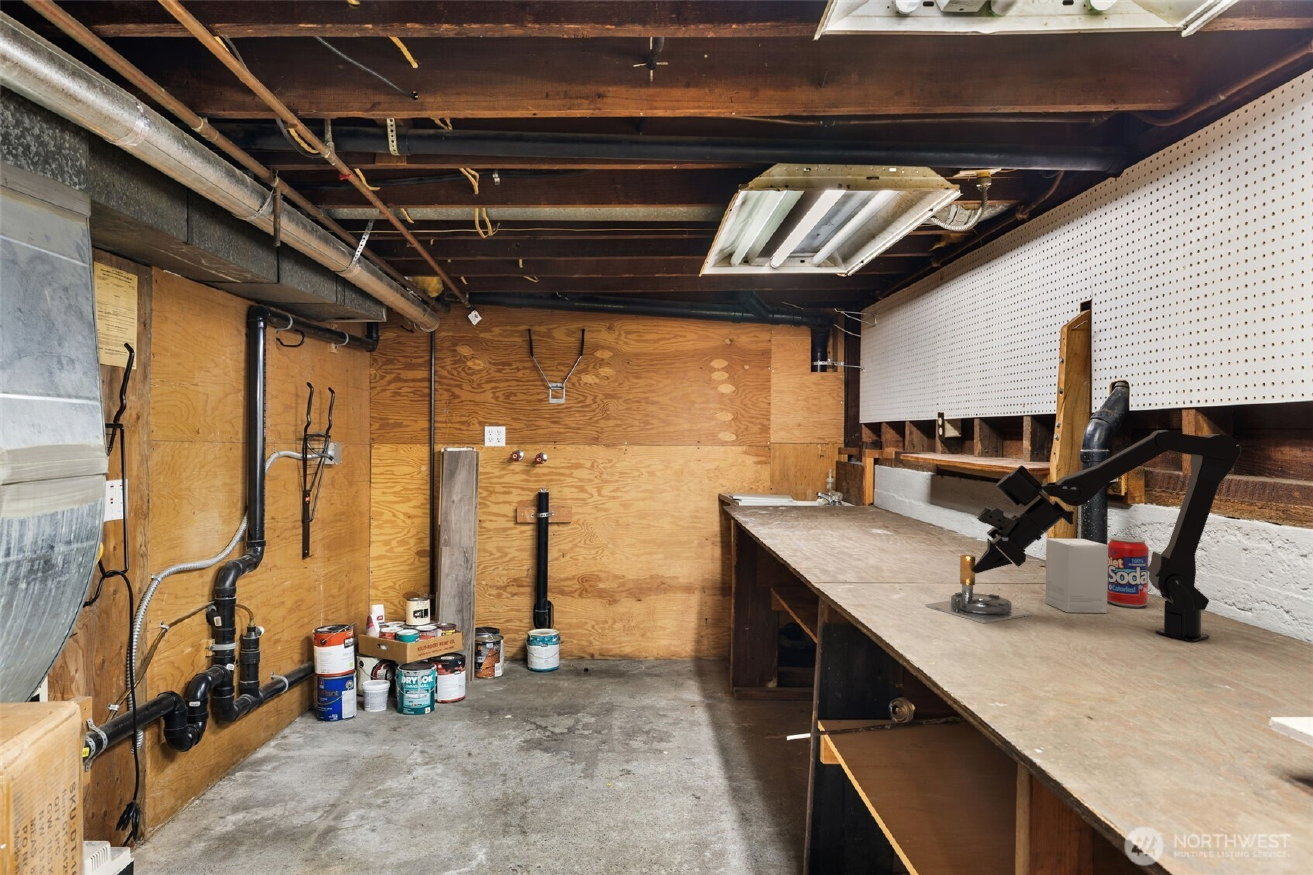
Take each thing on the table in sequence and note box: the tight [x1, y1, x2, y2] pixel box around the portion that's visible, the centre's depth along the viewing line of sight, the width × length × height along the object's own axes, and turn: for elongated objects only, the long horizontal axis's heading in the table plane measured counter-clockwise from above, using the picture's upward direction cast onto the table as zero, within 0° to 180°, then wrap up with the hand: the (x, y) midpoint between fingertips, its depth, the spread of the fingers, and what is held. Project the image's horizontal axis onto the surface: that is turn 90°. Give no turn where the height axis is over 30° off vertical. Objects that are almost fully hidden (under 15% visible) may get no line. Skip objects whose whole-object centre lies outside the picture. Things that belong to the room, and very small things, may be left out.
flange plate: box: [924, 599, 1033, 624], centre depth 152 cm, size 15×15×3 cm
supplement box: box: [1045, 537, 1108, 614], centre depth 155 cm, size 9×9×15 cm
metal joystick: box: [950, 554, 1013, 614], centre depth 152 cm, size 12×12×12 cm
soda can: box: [1106, 536, 1150, 609], centre depth 159 cm, size 8×8×15 cm
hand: (973, 571), depth 148 cm, fingers closed
